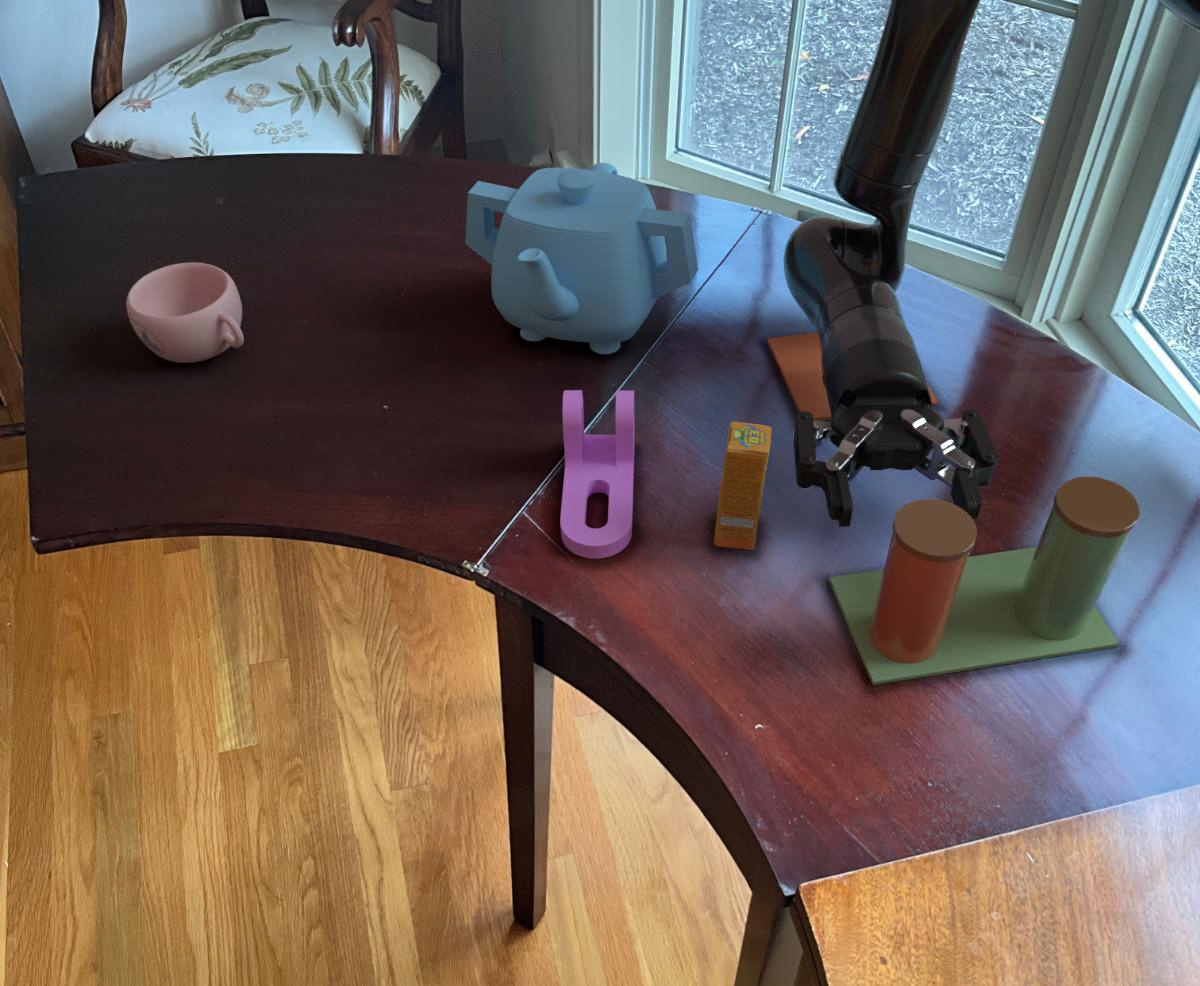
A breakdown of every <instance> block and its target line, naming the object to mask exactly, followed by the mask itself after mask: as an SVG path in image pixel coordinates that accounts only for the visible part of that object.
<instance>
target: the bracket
mask: <svg viewBox="0 0 1200 986" xmlns="http://www.w3.org/2000/svg"><path fill="white" fill-rule="evenodd" d="M584 412H585V411H584V395H583V390H582V389H565V390H563V393H562V433H563V449H564V472H563V473H564V475H563V485H562V497H561V507H560V521H559V523H560V525H559V526H560V535H561V536H560V537H561V541H562V543H563V545H564V546H565V547H566V548H567V549H568V550H569V551H570V552H571V553H573V554H574V555H576V556H579V557H582V558H585V559H606V558H609V557H612V556H614V555H617V554H619V553H620V552H622V551H623V550H625V548H627V546H628V545H629V543H630V542H631V539H632V536H633V512H634V511H633V510H634V476H635V475H634V472H635V390H633V389H632V390H625V389H624V390H623V389H622V390H621V389H620V390H617V389H616V391H615V434H586V432H585V418H584V417H585V416H584V414H585V413H584ZM597 493H600V494H601V493H602V494H605V495H606V496H608V510H607V512H608V513H607V523H606V524H605V525H603V526H602V527H599V528H595V527H594V528H593V527H589V526H588V525H587V524H586V519H587V508H588V507H587V505H588V498H589V497H590V496H591V495H593V494H597Z"/></svg>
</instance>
